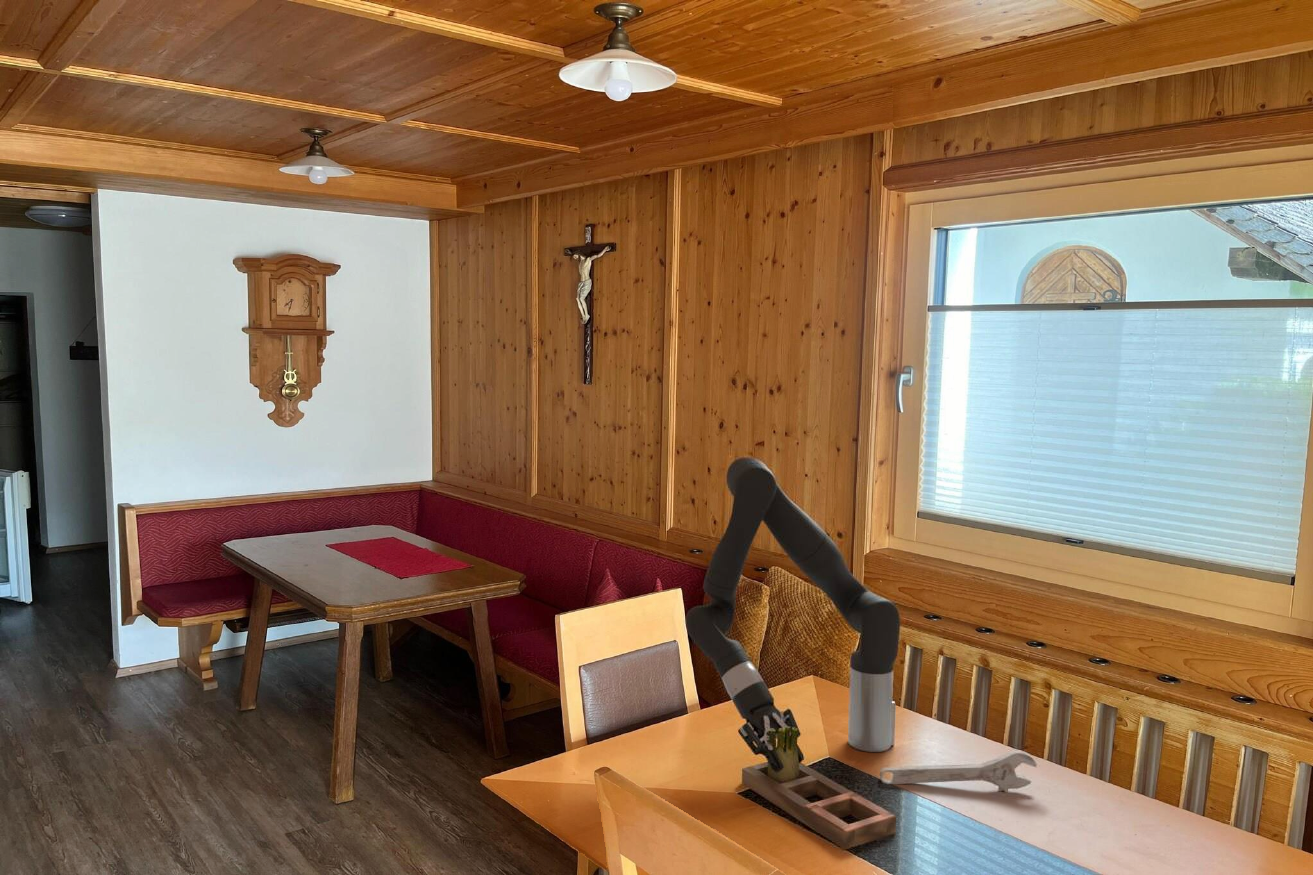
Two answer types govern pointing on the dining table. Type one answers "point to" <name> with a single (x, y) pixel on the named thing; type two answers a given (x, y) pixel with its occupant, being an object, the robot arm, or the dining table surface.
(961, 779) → the wrench
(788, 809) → the brown flat frame piece
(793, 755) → the fennel bulb
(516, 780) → the dining table surface
